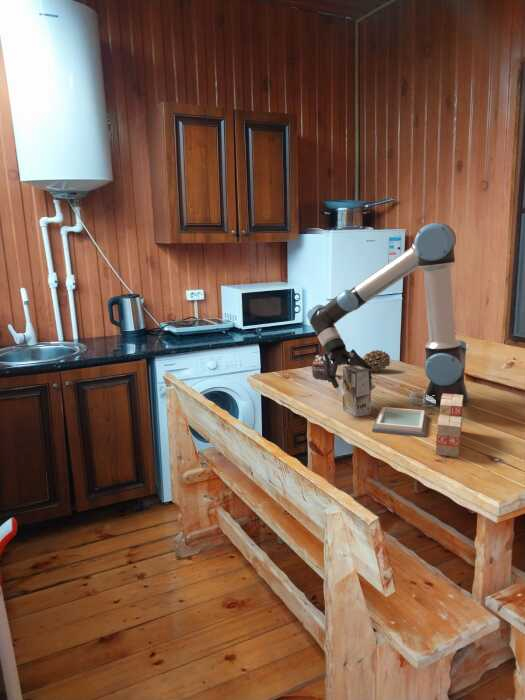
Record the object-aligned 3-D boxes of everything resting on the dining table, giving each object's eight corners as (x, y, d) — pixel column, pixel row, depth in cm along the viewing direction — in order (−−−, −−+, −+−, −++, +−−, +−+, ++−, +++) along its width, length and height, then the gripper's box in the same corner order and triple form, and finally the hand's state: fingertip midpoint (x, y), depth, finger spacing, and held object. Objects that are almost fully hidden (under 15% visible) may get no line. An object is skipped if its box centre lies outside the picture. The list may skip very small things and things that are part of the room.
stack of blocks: (458, 458, 147) (461, 416, 144) (435, 455, 149) (437, 413, 147) (461, 431, 166) (463, 394, 164) (440, 429, 169) (442, 392, 166)
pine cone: (386, 368, 244) (387, 347, 242) (393, 373, 235) (393, 352, 233) (339, 370, 243) (340, 349, 241) (344, 375, 234) (344, 354, 231)
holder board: (427, 416, 180) (427, 409, 179) (424, 436, 162) (425, 429, 162) (379, 412, 185) (379, 405, 184) (372, 431, 167) (372, 424, 167)
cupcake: (308, 375, 235) (308, 353, 233) (328, 373, 238) (328, 352, 236) (315, 381, 226) (315, 358, 224) (336, 379, 229) (336, 356, 227)
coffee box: (371, 414, 183) (372, 369, 180) (356, 417, 181) (356, 372, 177) (356, 407, 192) (357, 364, 188) (341, 409, 189) (342, 366, 186)
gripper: (353, 344, 202) (379, 391, 192) (300, 352, 189) (325, 403, 180) (363, 332, 196) (390, 380, 187) (308, 340, 184) (335, 392, 174)
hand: (358, 391), depth 183 cm, fingers open, 13 cm apart
